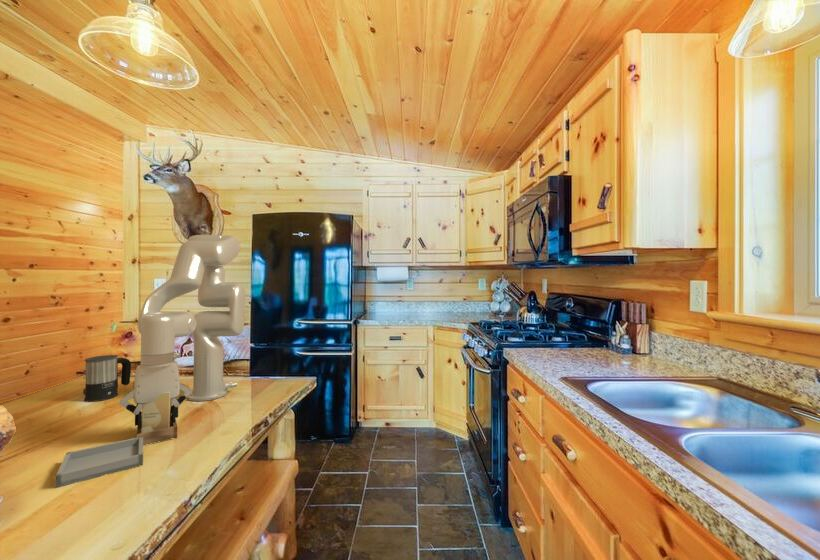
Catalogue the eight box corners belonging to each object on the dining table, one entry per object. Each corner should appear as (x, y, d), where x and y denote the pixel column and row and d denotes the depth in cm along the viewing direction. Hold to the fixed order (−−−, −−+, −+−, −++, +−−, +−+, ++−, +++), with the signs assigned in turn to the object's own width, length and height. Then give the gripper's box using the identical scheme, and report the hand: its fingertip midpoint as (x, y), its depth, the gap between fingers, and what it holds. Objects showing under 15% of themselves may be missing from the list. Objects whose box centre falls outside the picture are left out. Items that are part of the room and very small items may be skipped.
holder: (174, 424, 99) (174, 414, 99) (177, 437, 91) (177, 426, 91) (137, 432, 94) (137, 422, 94) (136, 447, 86) (136, 435, 86)
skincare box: (140, 441, 89) (140, 395, 89) (144, 434, 93) (144, 390, 93) (169, 436, 92) (170, 391, 92) (172, 429, 96) (172, 387, 96)
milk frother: (101, 402, 118) (102, 360, 118) (57, 402, 118) (58, 360, 118) (135, 389, 132) (135, 352, 132) (96, 389, 132) (96, 351, 132)
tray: (142, 445, 87) (143, 436, 87) (142, 465, 77) (142, 454, 77) (66, 463, 78) (66, 452, 78) (55, 487, 69) (55, 476, 69)
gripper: (193, 353, 101) (192, 412, 101) (117, 361, 90) (116, 427, 90) (196, 357, 95) (195, 420, 95) (115, 366, 84) (114, 437, 84)
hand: (156, 423), depth 93 cm, fingers closed on skincare box, 6 cm apart
